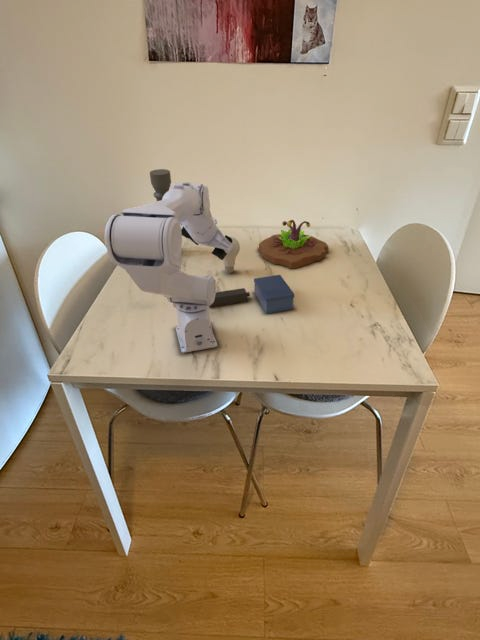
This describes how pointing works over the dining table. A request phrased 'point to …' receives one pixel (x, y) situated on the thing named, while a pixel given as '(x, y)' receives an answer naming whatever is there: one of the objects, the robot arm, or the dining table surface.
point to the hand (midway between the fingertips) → (211, 249)
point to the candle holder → (160, 182)
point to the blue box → (273, 293)
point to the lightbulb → (231, 256)
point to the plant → (293, 247)
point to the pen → (230, 297)
